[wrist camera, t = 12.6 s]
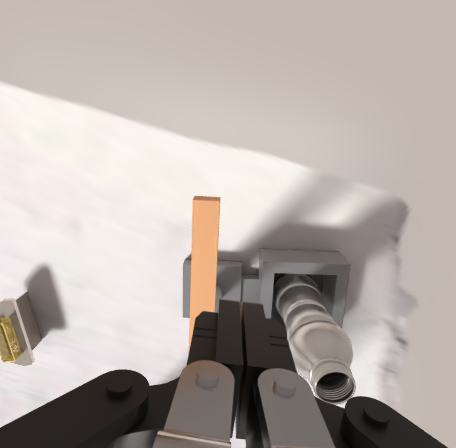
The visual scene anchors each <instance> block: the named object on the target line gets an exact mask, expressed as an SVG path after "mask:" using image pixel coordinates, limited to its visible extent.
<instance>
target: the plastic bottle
mask: <svg viewBox="0 0 456 448" xmlns="http://www.w3.org/2000/svg"><path fill="white" fill-rule="evenodd" d="M273 303H274V305H275V307H276V309H277V311H278V312H279V314H280V315H281V316H282V319H283V321H284V323H285V327H286V331H287V340H288V342H289V348H290V349H291V353H292V356H293V360H294V363H295V367H296V370H297V371H298V372H299V373H300V374H301V375H302V376H304V377H305V378H307V379H309V380H310V383H311V385H312V386H313V389H314V392H315V394H316V396H317V397H318V398H319V399H320V400H322V401H325V402H327V403H330V404H334V405H335V404H341V403H344V402H346V401H348V400H349V399H350V398H351V397H352V396H353V394H354V392H355V388H356V386H355V381H354V378H353V376H352V372H351V370H350V368H349V367H350V365H351V363H352V358H353V352H352V344H351V341H350V339H349V338H348V336H347V335H346V333H345V332H344V331H343V330H342V329H341V327H340V326H339V325H338V324H337V323H336V322H335V321H334V320H333V319H332V317H331V316H330V314H329V313H328V312H327V310H326V308H325V305H324V303H323V297H322V294H321V291H320V288H319V286H318V285H317V284H316V283H315V282H314V281H313V280H312V279H311V278H310V277H308V276H306V275H304V274H287V275H285V276H283V277H282V278H280V279H279V280H278V281H277V283H276V284H275V286H274V289H273Z"/></svg>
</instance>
